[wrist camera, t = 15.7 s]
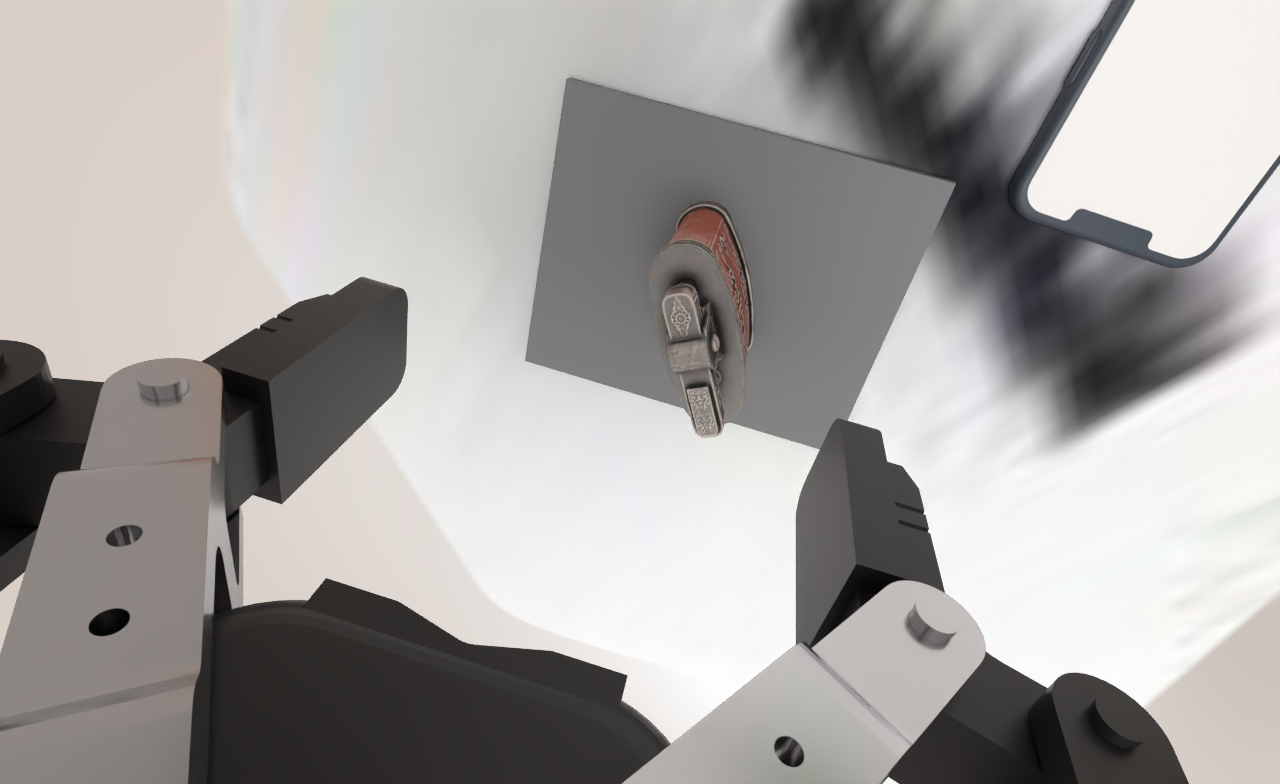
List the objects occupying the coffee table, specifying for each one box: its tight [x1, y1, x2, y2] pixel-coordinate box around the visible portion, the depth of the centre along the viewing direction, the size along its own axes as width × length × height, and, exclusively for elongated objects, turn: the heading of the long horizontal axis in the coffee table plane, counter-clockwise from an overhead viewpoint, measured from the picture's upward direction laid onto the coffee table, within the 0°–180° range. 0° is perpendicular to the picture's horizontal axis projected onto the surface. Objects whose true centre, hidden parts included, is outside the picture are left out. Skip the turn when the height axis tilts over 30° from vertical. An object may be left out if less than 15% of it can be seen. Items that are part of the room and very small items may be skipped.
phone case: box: [1009, 0, 1280, 268], centre depth 25 cm, size 9×2×16 cm
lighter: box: [650, 200, 754, 438], centre depth 29 cm, size 8×3×10 cm, turn 15°
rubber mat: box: [525, 78, 956, 449], centre depth 34 cm, size 15×18×1 cm
